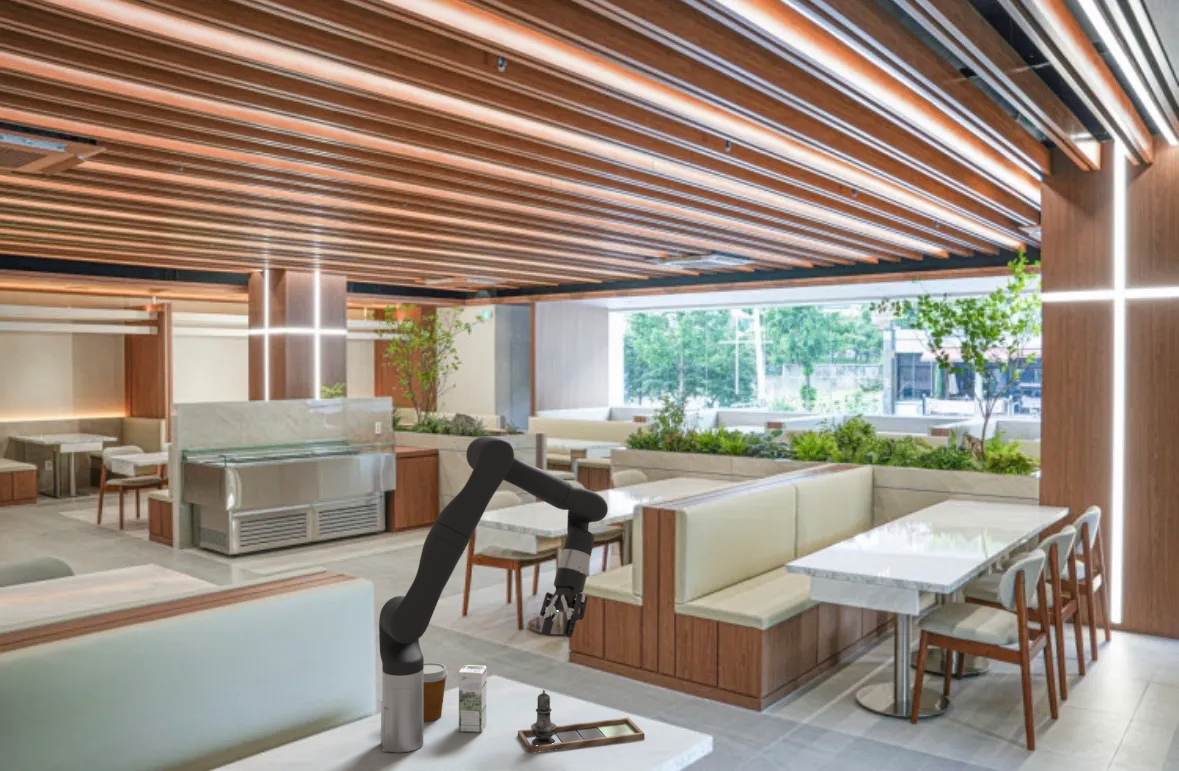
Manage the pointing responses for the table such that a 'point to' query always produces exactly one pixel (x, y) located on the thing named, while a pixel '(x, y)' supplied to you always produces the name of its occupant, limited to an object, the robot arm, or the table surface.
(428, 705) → the disposable coffee cup
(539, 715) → the salt shaker
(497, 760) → the table surface
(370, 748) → the table surface
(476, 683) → the syrup box
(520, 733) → the tray
